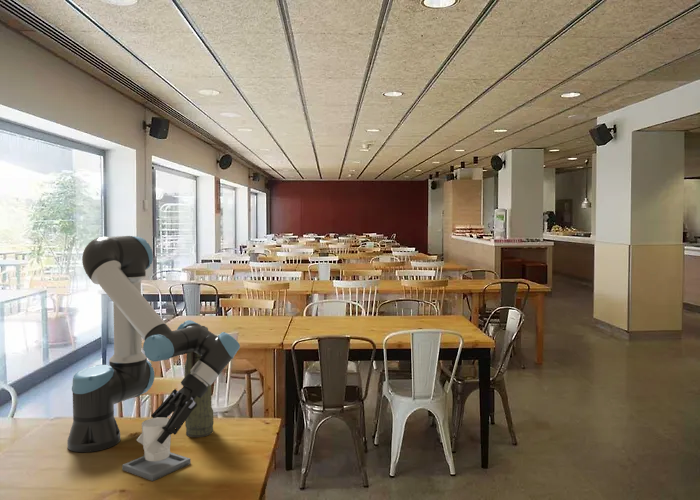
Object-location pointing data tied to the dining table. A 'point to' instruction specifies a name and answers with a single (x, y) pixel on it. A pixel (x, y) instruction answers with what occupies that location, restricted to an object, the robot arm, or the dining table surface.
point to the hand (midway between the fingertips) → (144, 447)
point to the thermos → (199, 406)
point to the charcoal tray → (156, 466)
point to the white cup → (149, 433)
